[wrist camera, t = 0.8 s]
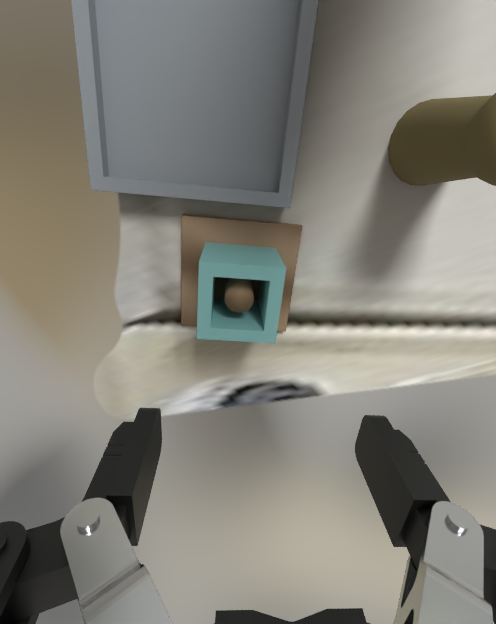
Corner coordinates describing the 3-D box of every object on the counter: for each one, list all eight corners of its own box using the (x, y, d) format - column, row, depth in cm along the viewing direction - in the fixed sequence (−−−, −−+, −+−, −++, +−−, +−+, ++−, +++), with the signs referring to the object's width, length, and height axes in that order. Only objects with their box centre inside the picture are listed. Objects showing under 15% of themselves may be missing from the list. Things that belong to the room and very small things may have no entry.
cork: (377, 176, 26) (466, 183, 16) (407, 89, 24) (533, 35, 14) (444, 192, 27) (568, 208, 17) (479, 110, 25) (648, 72, 15)
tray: (76, -76, 20) (60, -100, 18) (318, -39, 21) (326, -59, 19) (100, 188, 26) (90, 190, 24) (286, 205, 27) (289, 208, 25)
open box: (205, 242, 27) (198, 261, 22) (275, 247, 28) (286, 268, 22) (202, 321, 30) (196, 355, 25) (265, 325, 31) (273, 360, 25)
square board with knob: (182, 214, 27) (171, 226, 22) (300, 224, 28) (316, 238, 23) (182, 322, 31) (172, 352, 26) (284, 328, 32) (294, 359, 27)
